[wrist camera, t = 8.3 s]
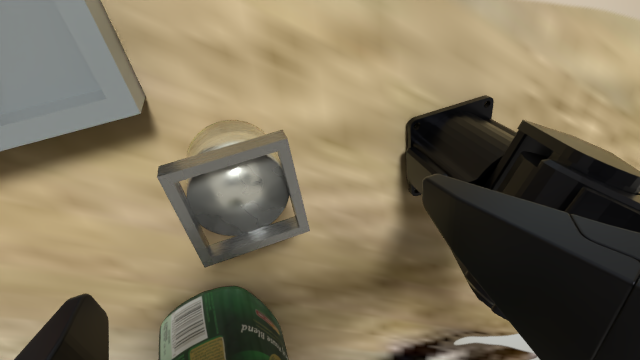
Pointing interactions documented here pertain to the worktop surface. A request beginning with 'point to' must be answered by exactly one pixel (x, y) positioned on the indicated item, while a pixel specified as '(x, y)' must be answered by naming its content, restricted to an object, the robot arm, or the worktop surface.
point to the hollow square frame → (235, 190)
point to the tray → (61, 70)
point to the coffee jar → (222, 328)
